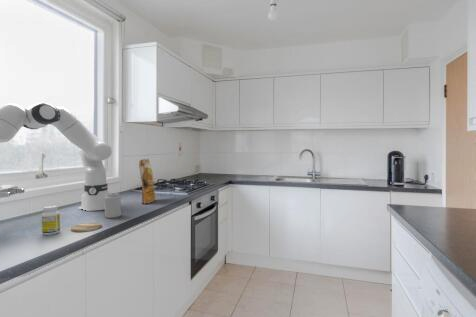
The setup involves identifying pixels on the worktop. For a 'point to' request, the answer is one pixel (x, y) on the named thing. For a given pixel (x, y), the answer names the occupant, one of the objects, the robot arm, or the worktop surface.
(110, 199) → the can
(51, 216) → the pill bottle
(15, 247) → the worktop surface
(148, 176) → the pancake mix bag
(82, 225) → the coaster
